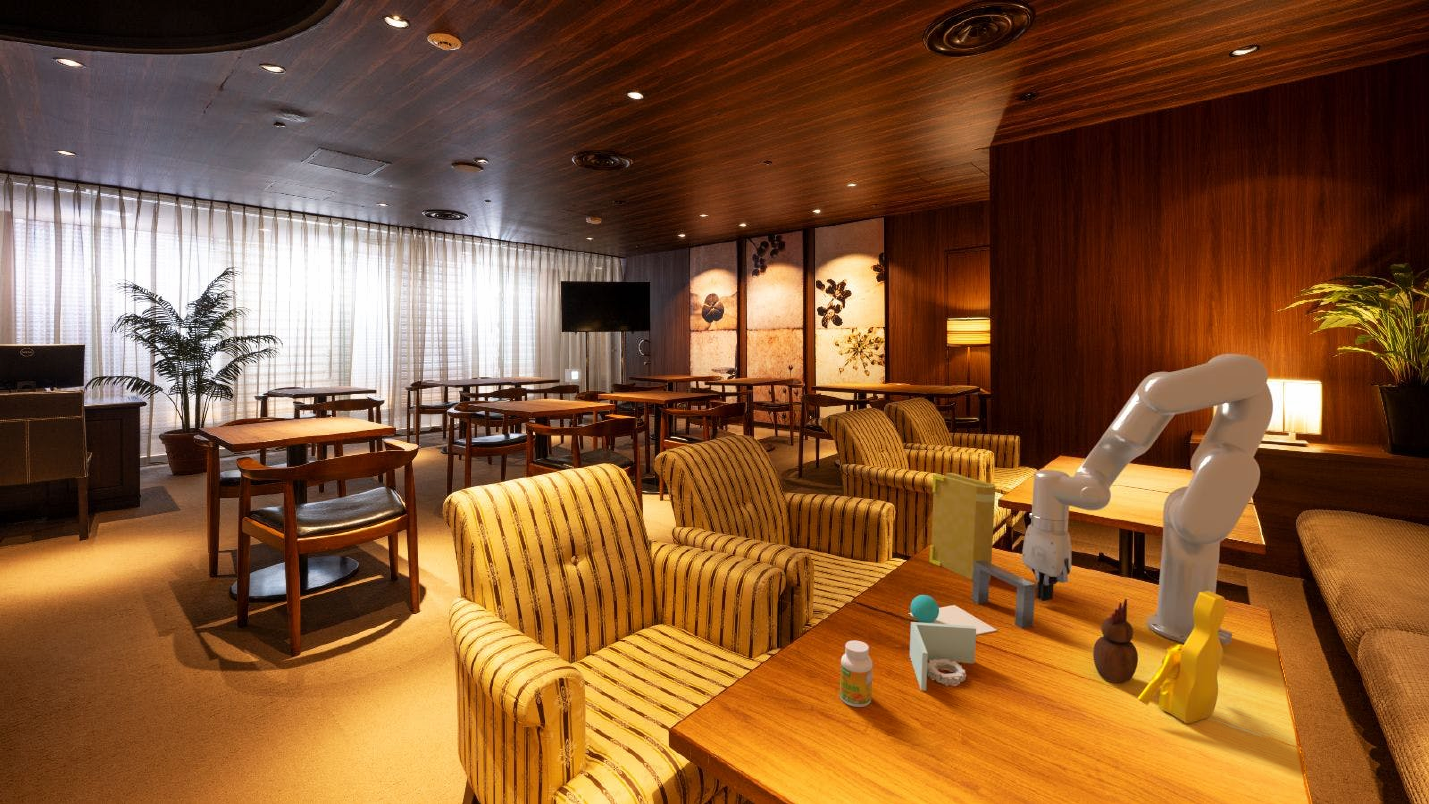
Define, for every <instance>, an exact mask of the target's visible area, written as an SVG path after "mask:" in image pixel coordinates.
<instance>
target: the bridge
mask: <svg viewBox="0 0 1429 804" xmlns="http://www.w3.org/2000/svg"><path fill="white" fill-rule="evenodd" d="M990 575H991V577H992V576H993V577H995V578H997V579H998V580H1000V581H1002V582H1005V583H1007V584H1009V585H1011V586H1013V587H1015V588H1016V602H1015V603H1016V604H1015V615H1014V616H1015V618H1014V620H1015V621H1014V625H1015V626H1017V627H1019V628H1021V630H1023V629H1028V628H1032V627H1034V614H1035V599H1036V583H1034V582H1032V581H1030V580H1027V579H1026V578H1024V577H1022V576H1019V575H1018V574H1015V573H1013V572H1010V571H1008V570H1006V569H1004V568H1002V567H999V566H998V565H995V564H993V563H992V562H991V563H989V562H987V561H985V560H982V561H975V562H974V570H973V580H972V593H971V596H972V597H971V601H972V602H974V604H978V605H980V604H981V605H982V604H985V603H989V596H990V595H989V593H990V581H989V577H990Z"/></svg>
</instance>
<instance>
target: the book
mask: <svg viewBox="0 0 1429 804" xmlns="http://www.w3.org/2000/svg"><path fill="white" fill-rule="evenodd" d="M932 493H933V497H932V499H933V500H932V501H933V502H932V517H931V519H932V522H931V542H930V543H931V544H929V561H928V562H929V563H931V564H933V565H936V566H938V567H942V568H945V569H947V570H948V571H951V572H953V573H956V574H957V575H960V576H962V577H964V578H966V577H967V579H968V580H970V581H973V570H974V562H975V561H982V560H985V561H987V562H989V563H991V564H992V556H993V540H994V539H993V538H994V537H993V536H994V521H995V517H994V516H995V501H996V485H995V484H993V483H990V482H986V481H982V480H978V479H975V478H971V477H967V476H963V475H961V474H957V473H953V472H946V473H945V475H944V474H943V475H942V474H932ZM991 577H992V575H990V577H989V582H990V581H991V579H992V578H991Z"/></svg>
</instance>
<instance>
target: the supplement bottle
mask: <svg viewBox="0 0 1429 804" xmlns="http://www.w3.org/2000/svg"><path fill="white" fill-rule="evenodd" d="M844 646H845V649H844V650H845V651H844V652H845V653H844V654H843V655H842V656H841V659H840V676H839V677H840V680H839V682H840V683H839V697H840V700H841V701H842V702H843V703H844V704H846V705H848V706H850V707H855V708H863V707H867V706H869V705H870V704H871V702H872V696H873V695H872V692H873V667H874V666H873V661H872V658H871V657H870V656H869V654H870V647H869V644H867V643H866V642H863V641H860V640H849V641H847V642H846V643H845V645H844Z"/></svg>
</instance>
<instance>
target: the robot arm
mask: <svg viewBox="0 0 1429 804" xmlns="http://www.w3.org/2000/svg"><path fill="white" fill-rule="evenodd" d="M1268 377H1269V374H1268V370H1267V367H1266V365H1264V363H1263V362H1261V361H1260V360H1259V359H1257V358H1256V357H1253V356H1250V355H1247V354H1239V353H1223V354H1219V355H1216V356H1214V357H1213V358H1211V359H1209V361H1207V362H1206V363H1202V364H1199V365H1196V366H1192V367H1188V368H1183V369H1179V370H1175V371H1171V372H1170V371H1169V372H1168V371H1158V372H1153V373H1151V374H1149V375H1147V376H1146V377H1144V379H1143V380H1142V381H1141V382H1140V383H1139V385H1138V386H1137V388H1136V389H1135V391H1133V393H1132V395H1131V396H1130V397H1129V399H1128V400H1127V402H1126V403H1125V404H1124V405H1123V407H1122V409H1121V410H1120V411H1119V413H1118V414H1117V415H1116V416H1115V418H1114V419H1113V421H1112V422H1111V424H1110V425H1109V427H1108V428H1107V430H1106V431H1105V432H1104V433H1103V434H1102V436H1101V438H1100V439H1099V440H1098V442H1097V443H1096V445H1095V446H1094V447H1093V448H1092V450H1091V451H1090V452H1089V453H1088V455H1087V457H1086V458H1085V459H1084V461H1083V462H1082V463H1081V464H1080V466H1079V468H1078V469H1077V471H1076V472H1075V473H1074V475H1073V476H1070V475H1069V474H1068V473H1067V472H1063V471H1061V470H1055V469H1053V470H1052V469H1041V470H1038V471H1036V472H1035V473H1034V476H1033V485H1032V486H1033V487H1032V503H1031V508H1032V509H1031V513H1029V515H1028V516H1029V518H1030V519H1031V521H1030V522H1031V523H1030V524H1029V525H1028V524H1027V525H1028V526H1027V528H1026V531H1025V535H1024V540H1023V546H1022V553H1021V556H1022V557H1021V561H1022V563H1023V565H1024V566H1026V568H1027V569H1029V570H1030V571H1031V572H1032V573H1033V575H1034V579H1035V581H1036V582H1037V588H1036V598H1037V600H1040V601H1042V602H1046V601H1051V600H1053V595H1054V587H1055V586H1054V585H1056V584H1057V583H1060V584H1062V583H1063V584H1064V583H1068V582H1069V578H1068V575H1070V574H1071V568H1072V543H1071V536H1070V533H1069V532H1068V531H1069V518H1070V516H1069V514H1070V507H1072V508H1077V509H1081V510H1087V511H1100V510H1102V509H1104V508H1106V507H1107V506H1108V505H1109V503H1110V502H1111V497H1112V496H1111V495H1112V492H1111V490H1110V488H1111V487H1112V486H1113V484H1114V482H1115V481H1116V480H1117V478H1118V477H1119V475H1121V473H1122V472H1123V470H1124V469H1125V468H1127V466H1128V465H1129V464H1130V463H1131V462H1132V461H1133V460H1134V459H1136V458H1137V457H1139V456H1142V455H1143V454H1145V453H1146V452H1147V451H1148V450H1149V449H1151V447H1152V446H1153V444H1154V443H1155V441H1156V440H1157V439H1158V438H1159V436H1160V435H1161V433H1162V432H1163V431H1164V429H1165V428H1166V427H1167V425H1168V424H1169V423H1170V421H1171V420H1172V419H1173V418H1174V417H1175V415H1178V414H1179V415H1180V414H1185V413H1191V412H1195V411H1200V410H1203V409H1208V408H1213V407H1216V406H1217V407H1216V410H1215V413H1214V416H1213V418H1212V419H1211V422H1210V425H1209V427H1208V428H1207V430H1206V433H1204V436H1203V438H1202V440H1201V441H1200V443H1199V445H1198V446H1197V448H1196V449H1195V451H1194V453H1193V455H1192V457H1191V459H1190V468H1191V471H1192V474H1193V476H1192V477H1191V479H1190V481H1189V484H1188V485H1187V486H1182V487H1178V488H1176V489H1174V490H1173V491H1171V493H1169V495H1168V496H1167V497H1166V500H1165V502H1164V504H1163V513H1162V515H1163V517H1162V526H1163V527H1162V530H1163V531H1162V547H1161V557H1160V558H1161V559H1160V569H1159V570H1160V571H1159V580H1158V581H1159V582H1158V583H1159V584H1158V595H1157V608H1156V614H1155V613H1154V614H1151V615H1149V616H1148V617H1147V619H1146V624H1147V626H1148V628H1150V630H1152V631H1153V632H1155V633H1156V634H1158V635H1159V636H1162V637H1164V638H1166V639H1170V640H1173V641H1175V642H1179V643H1182V644H1185V642H1186V641H1187V639H1188V638H1189V636H1190V634H1191V633H1192V631H1193V629H1194V617H1193V609H1194V605H1195V602H1196V600H1197V597H1198V595H1199V593H1200V592H1205V591H1210V592H1213V593H1215V594H1217V593H1216V592H1217V581H1218V580H1217V579H1218V572H1219V571H1218V570H1219V561H1220V549H1221V547H1220V546H1221V545H1220V543H1221V542H1222V541H1224V540H1225V539H1227V538H1228V536H1229V535H1231V533H1232V531H1233V530H1234V529H1235V527H1236V526H1237V524H1238V522H1239V521H1240V519H1241V517H1242V516H1243V514H1244V512H1245V510H1246V508H1247V506H1248V505H1249V503H1250V501H1251V499H1252V497H1253V496H1254V494H1255V492H1256V490H1257V488H1258V486H1259V483H1260V477H1261V470H1260V466H1259V464H1258V461H1257V460H1256V459H1255V458H1254V457H1255V455H1256V453H1257V451H1258V449H1259V447H1260V445H1261V443H1262V441H1263V438H1264V437H1265V434H1266V432H1267V431H1268V428H1269V425H1270V423H1271V420H1272V416H1273V411H1274V402H1273V396H1272V393H1271V389H1270V387H1269V385H1268V383H1267V382H1268V380H1269V379H1268ZM1218 637H1219V640H1220V643H1221V644H1224V645H1225V646H1229V645H1230V644H1232V638H1233V633H1232V632H1231V631H1228V630H1226V629H1224V628H1223V629H1222V628H1221V627H1220V628H1219V630H1218Z"/></svg>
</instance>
